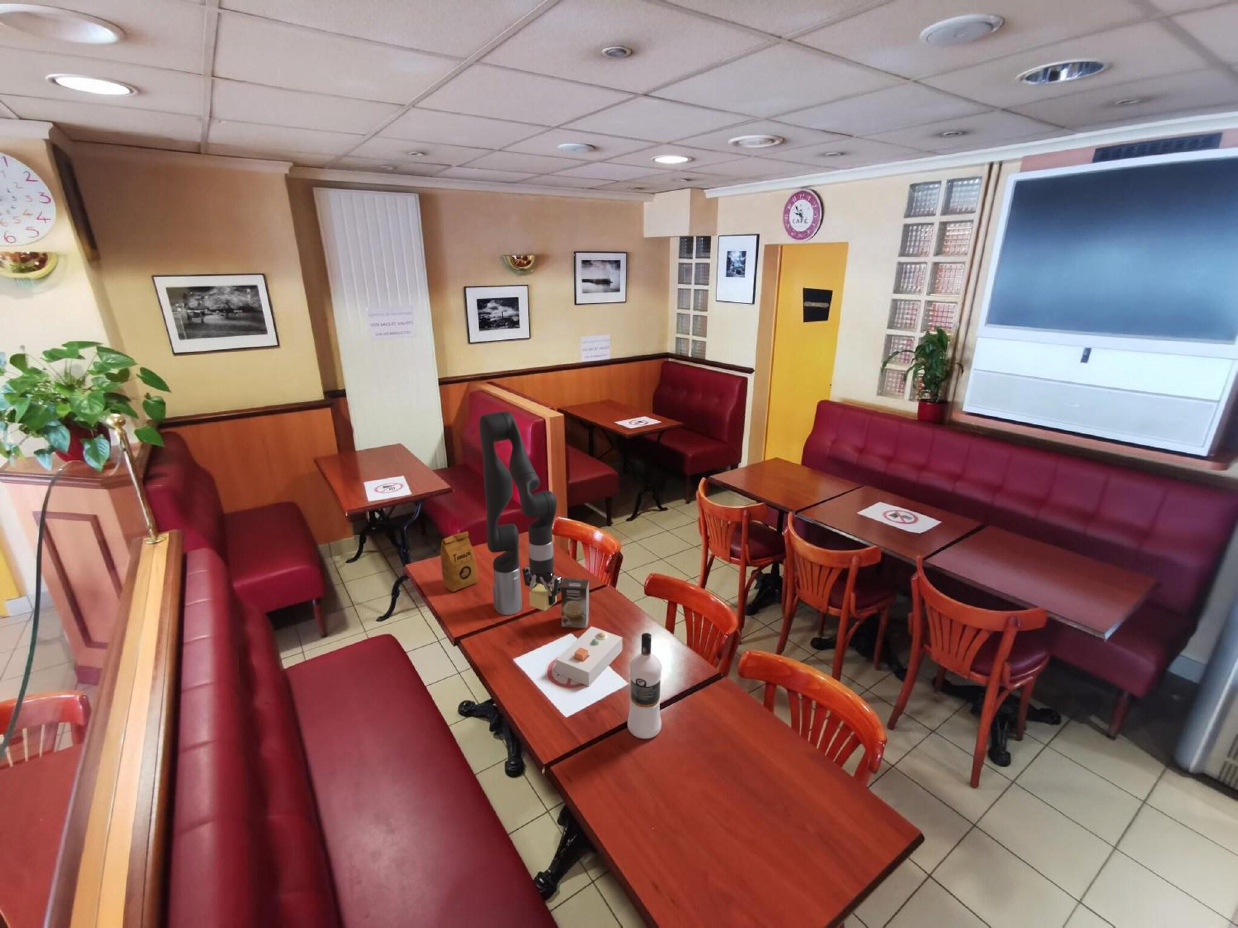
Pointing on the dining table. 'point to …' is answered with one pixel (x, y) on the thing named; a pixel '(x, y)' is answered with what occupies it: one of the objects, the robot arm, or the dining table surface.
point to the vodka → (645, 692)
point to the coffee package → (458, 562)
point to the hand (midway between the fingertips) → (543, 601)
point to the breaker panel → (589, 656)
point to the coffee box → (575, 602)
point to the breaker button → (581, 654)
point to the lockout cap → (540, 597)
